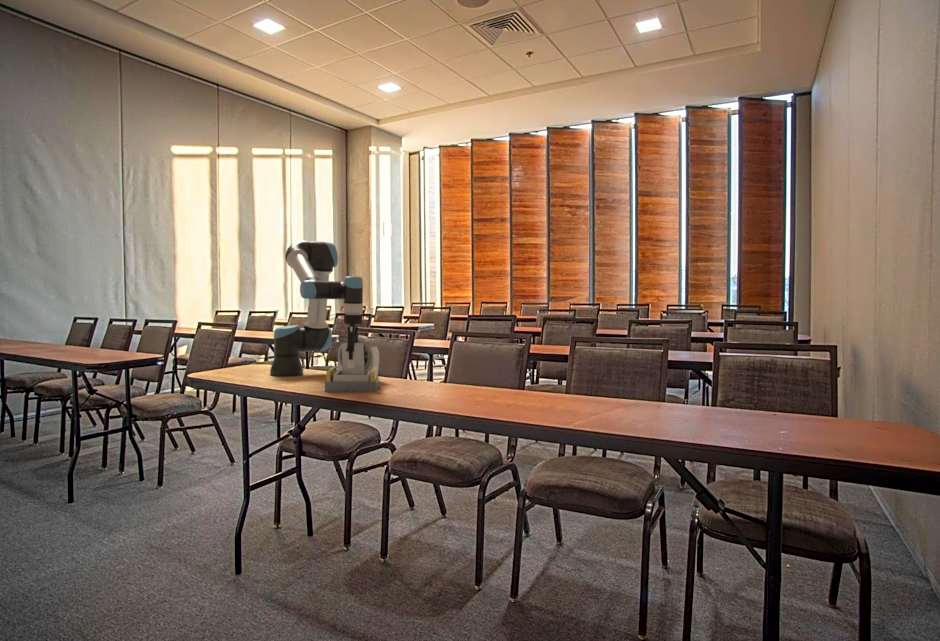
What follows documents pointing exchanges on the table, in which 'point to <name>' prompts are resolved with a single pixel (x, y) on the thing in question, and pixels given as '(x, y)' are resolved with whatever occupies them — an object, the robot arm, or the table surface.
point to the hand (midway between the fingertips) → (352, 365)
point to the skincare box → (359, 360)
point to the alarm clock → (369, 354)
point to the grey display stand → (351, 381)
